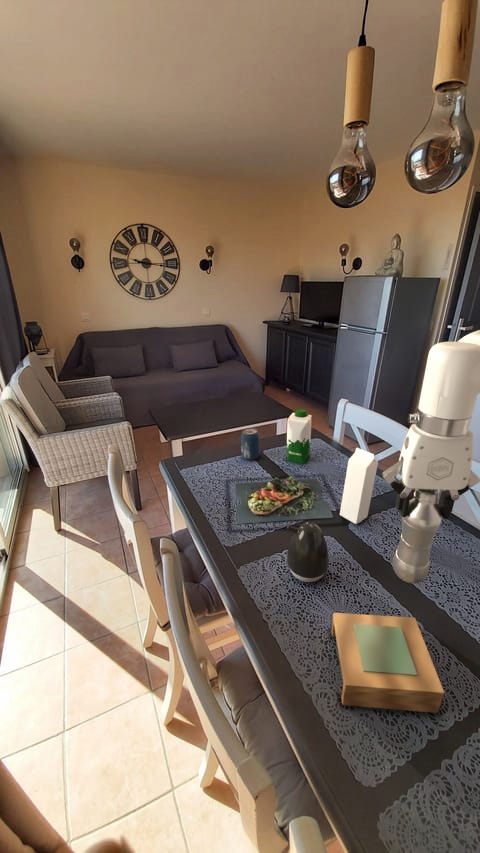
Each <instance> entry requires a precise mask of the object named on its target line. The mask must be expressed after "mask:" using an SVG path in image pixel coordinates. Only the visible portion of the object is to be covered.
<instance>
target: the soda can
mask: <svg viewBox="0 0 480 853" xmlns="http://www.w3.org/2000/svg"><path fill="white" fill-rule="evenodd" d="M240 437H241V442H240V443H241V457H242V459H243V460H245V461H249V462H250V461H255V460H257V459H258V458H259V456H260V434H259V432H258V430H257V429H256V428H253V427H247V428H244V429H242V433H241V436H240Z"/></svg>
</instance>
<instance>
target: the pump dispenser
mask: <svg viewBox="0 0 480 853" xmlns="http://www.w3.org/2000/svg"><path fill="white" fill-rule="evenodd" d="M286 530H288V531H290V532H291V533H293V535H292V537H291V539H290V542H289V545H288V548H287V553H286V564H287V566H288V568H289V570H290V572H291V575H293V576H294V577H295V578H296V579H298V580H299V581H302V582H305V583H313V582H314V583H315V582H317V581H318V580H320V579H321V578H323V577H324V575H325V574H326V572H327V571H328V569H329V563H330V559H329V558H330V556H329V549H328V544H327V540H326V538H325V536H324V533H323V531H322V530H321V528H320V527H319V526H318V525H317V523H315V522H313V521H305V522H302V523H301V524H300V525H299V526H298V527H297V526H294V525H289V524H288V525H287V526H286Z"/></svg>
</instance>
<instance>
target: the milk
mask: <svg viewBox="0 0 480 853" xmlns="http://www.w3.org/2000/svg"><path fill="white" fill-rule="evenodd" d="M378 464H379V461H377V460H375V454H374V453H372V452H369V451H367V450H364V449H361V448H359V447H355V452H354V453H353V454H352V455H351V456H350V458H349V459H348V462H347V467H346V475H345V480H344V486H343V491H342V498H341V504H340V508H339V509H340V510H339V516H340V517H342V518H344V519H346V520H347V521H350V522H351V523H353V524H355V525H358V524H359V523H361V522H363V520H365V519H366V518H368V516H369V511H370V506H371V500H372V496H373V490H374V485H375V481H376V475H377V470H378Z"/></svg>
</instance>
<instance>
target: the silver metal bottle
mask: <svg viewBox="0 0 480 853" xmlns="http://www.w3.org/2000/svg"><path fill="white" fill-rule="evenodd" d="M439 493H440V490H432V489H415V490H414V492H413V498H411V499H410V502H409V507H408V512H407V516H406V517H402V516H401V520H402V522H401V524H402V525H401V534H400V539H399V543H398V545H397V549H396V550H395V552H394V555H393V557H392V569H393V571H394V573H395V575H396V576H397V577H398V578H399V579H401V580H402V581H404V582H405V583H408V584H419V583H421V582H422V583H423V581H425V580H426V578H427V576H428V575H429V572H430V555H431V550H432V549H431V548H432V545H433V542H434V539H435V536H436V534H437V532H438V530H439V527H440V526H441V523H442V519H443V517H442V516H441V512H440V510H439V508H438V502H439V495H440V494H439Z"/></svg>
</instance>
